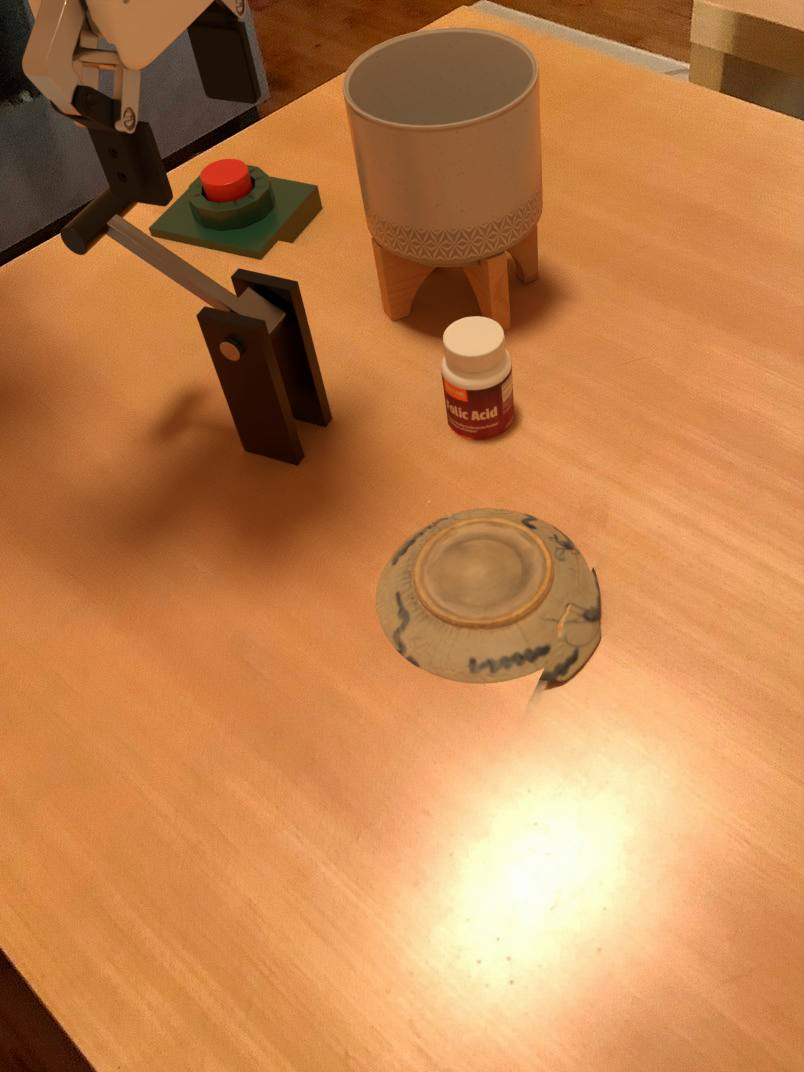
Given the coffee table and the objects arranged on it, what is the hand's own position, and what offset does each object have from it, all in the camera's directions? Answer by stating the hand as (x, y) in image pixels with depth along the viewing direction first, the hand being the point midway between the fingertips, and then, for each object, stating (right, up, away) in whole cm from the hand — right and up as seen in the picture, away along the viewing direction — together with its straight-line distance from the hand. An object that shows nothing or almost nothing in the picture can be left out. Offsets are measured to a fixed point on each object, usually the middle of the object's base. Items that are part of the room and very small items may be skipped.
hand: (191, 147), depth 54 cm
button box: (-6, +10, +37) cm, 39 cm away
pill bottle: (+15, -11, +20) cm, 27 cm away
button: (-6, +12, +34) cm, 37 cm away
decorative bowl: (+15, -24, +11) cm, 30 cm away
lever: (-4, -3, +12) cm, 13 cm away
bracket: (+2, -12, +20) cm, 24 cm away
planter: (+14, +1, +29) cm, 32 cm away
